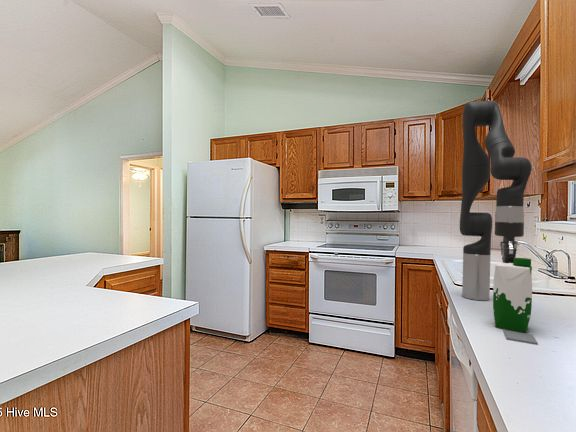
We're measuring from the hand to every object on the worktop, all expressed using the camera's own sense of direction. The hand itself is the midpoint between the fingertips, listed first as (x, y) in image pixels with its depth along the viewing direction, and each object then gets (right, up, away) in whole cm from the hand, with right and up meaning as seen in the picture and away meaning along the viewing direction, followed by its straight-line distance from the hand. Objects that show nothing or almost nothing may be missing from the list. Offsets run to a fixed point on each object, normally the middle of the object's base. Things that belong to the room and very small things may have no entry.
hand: (507, 276), depth 100 cm
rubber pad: (-8, -13, -16) cm, 22 cm away
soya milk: (-5, -13, -8) cm, 16 cm away
